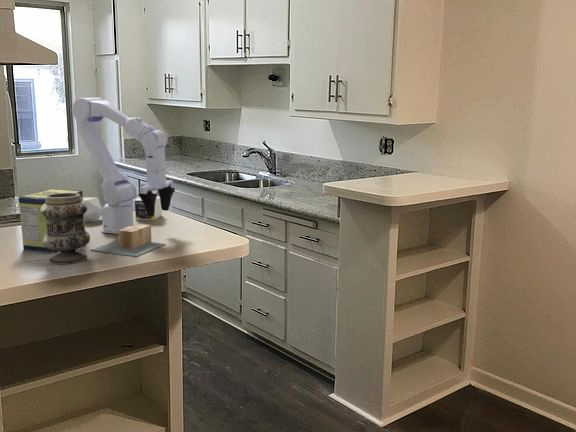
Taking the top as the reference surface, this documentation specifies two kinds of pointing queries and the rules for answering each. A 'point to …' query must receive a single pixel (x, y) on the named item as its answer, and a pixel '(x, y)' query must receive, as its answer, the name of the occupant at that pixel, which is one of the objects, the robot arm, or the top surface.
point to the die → (92, 209)
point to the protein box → (37, 219)
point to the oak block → (134, 235)
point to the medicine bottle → (141, 210)
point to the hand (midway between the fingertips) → (158, 212)
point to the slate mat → (135, 252)
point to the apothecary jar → (65, 227)
